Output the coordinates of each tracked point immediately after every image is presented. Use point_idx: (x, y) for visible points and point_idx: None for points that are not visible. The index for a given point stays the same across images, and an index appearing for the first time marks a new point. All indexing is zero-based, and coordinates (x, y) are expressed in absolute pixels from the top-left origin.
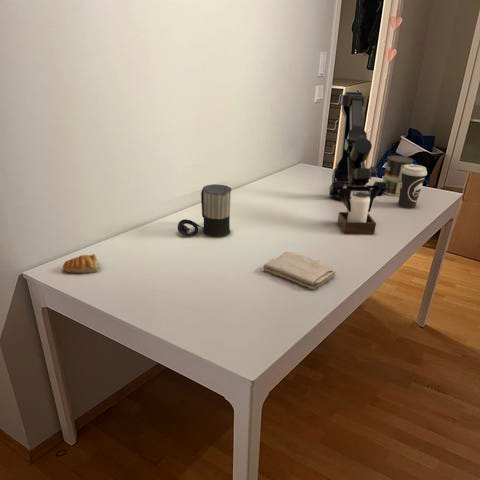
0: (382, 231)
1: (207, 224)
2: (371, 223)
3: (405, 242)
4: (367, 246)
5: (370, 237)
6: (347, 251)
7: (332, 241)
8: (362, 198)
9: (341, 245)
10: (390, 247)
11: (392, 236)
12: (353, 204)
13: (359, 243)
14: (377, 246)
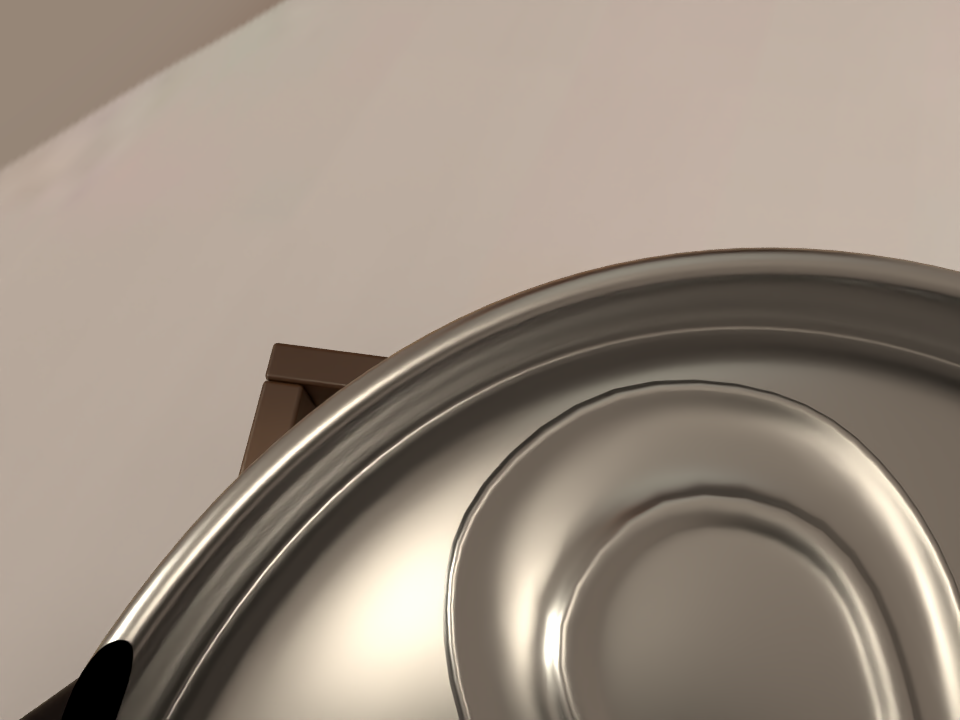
0: (113, 516)
1: None
2: (366, 356)
3: (50, 142)
4: (565, 102)
5: (419, 320)
6: (811, 32)
7: (949, 257)
8: (856, 309)
9: (853, 153)
10: (319, 55)
11: (87, 321)
12: None
13: (631, 176)
14: (452, 90)
